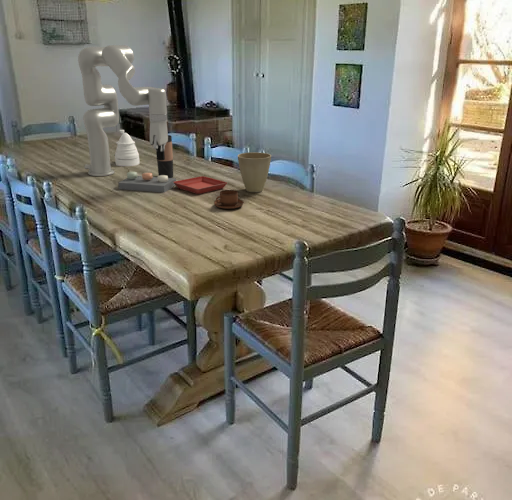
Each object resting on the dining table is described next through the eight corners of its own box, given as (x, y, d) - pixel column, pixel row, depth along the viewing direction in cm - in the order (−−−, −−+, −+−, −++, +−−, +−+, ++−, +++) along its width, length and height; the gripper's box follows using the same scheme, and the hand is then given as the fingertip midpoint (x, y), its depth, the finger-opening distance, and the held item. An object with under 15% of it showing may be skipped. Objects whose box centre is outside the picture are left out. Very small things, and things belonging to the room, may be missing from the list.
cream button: (156, 182, 234) (155, 177, 233) (160, 179, 238) (159, 174, 237) (165, 182, 233) (165, 177, 232) (169, 180, 237) (169, 175, 236)
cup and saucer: (232, 213, 203) (232, 197, 201) (208, 208, 209) (207, 193, 207) (249, 205, 213) (249, 191, 211) (225, 201, 219) (225, 186, 216)
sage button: (125, 178, 237) (125, 173, 236) (130, 176, 241) (129, 171, 240) (134, 179, 236) (134, 174, 235) (139, 176, 240) (138, 172, 239)
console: (119, 189, 234) (118, 182, 233) (132, 181, 247) (132, 175, 246) (164, 192, 230) (164, 185, 229) (176, 184, 242) (175, 178, 241)
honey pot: (110, 164, 281) (107, 131, 274) (124, 160, 292) (122, 127, 285) (130, 167, 276) (127, 132, 270) (144, 162, 287) (141, 129, 281)
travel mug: (170, 179, 252) (168, 137, 245) (155, 178, 254) (153, 137, 246) (176, 175, 259) (174, 135, 252) (161, 174, 260) (159, 134, 253)
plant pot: (274, 187, 239) (275, 153, 233) (264, 196, 226) (265, 159, 220) (244, 184, 243) (244, 151, 237) (232, 192, 230) (232, 157, 224)
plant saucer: (203, 182, 249) (202, 175, 248) (228, 189, 237) (228, 182, 236) (172, 188, 237) (172, 181, 236) (197, 196, 225) (197, 189, 224)
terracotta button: (140, 179, 235) (140, 174, 234) (145, 177, 239) (144, 172, 239) (150, 180, 234) (149, 175, 233) (154, 177, 238) (153, 173, 238)
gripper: (157, 115, 233) (159, 156, 240) (143, 119, 219) (146, 162, 226) (173, 116, 231) (174, 157, 238) (159, 120, 218) (162, 164, 225)
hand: (160, 159), depth 232 cm, fingers closed
